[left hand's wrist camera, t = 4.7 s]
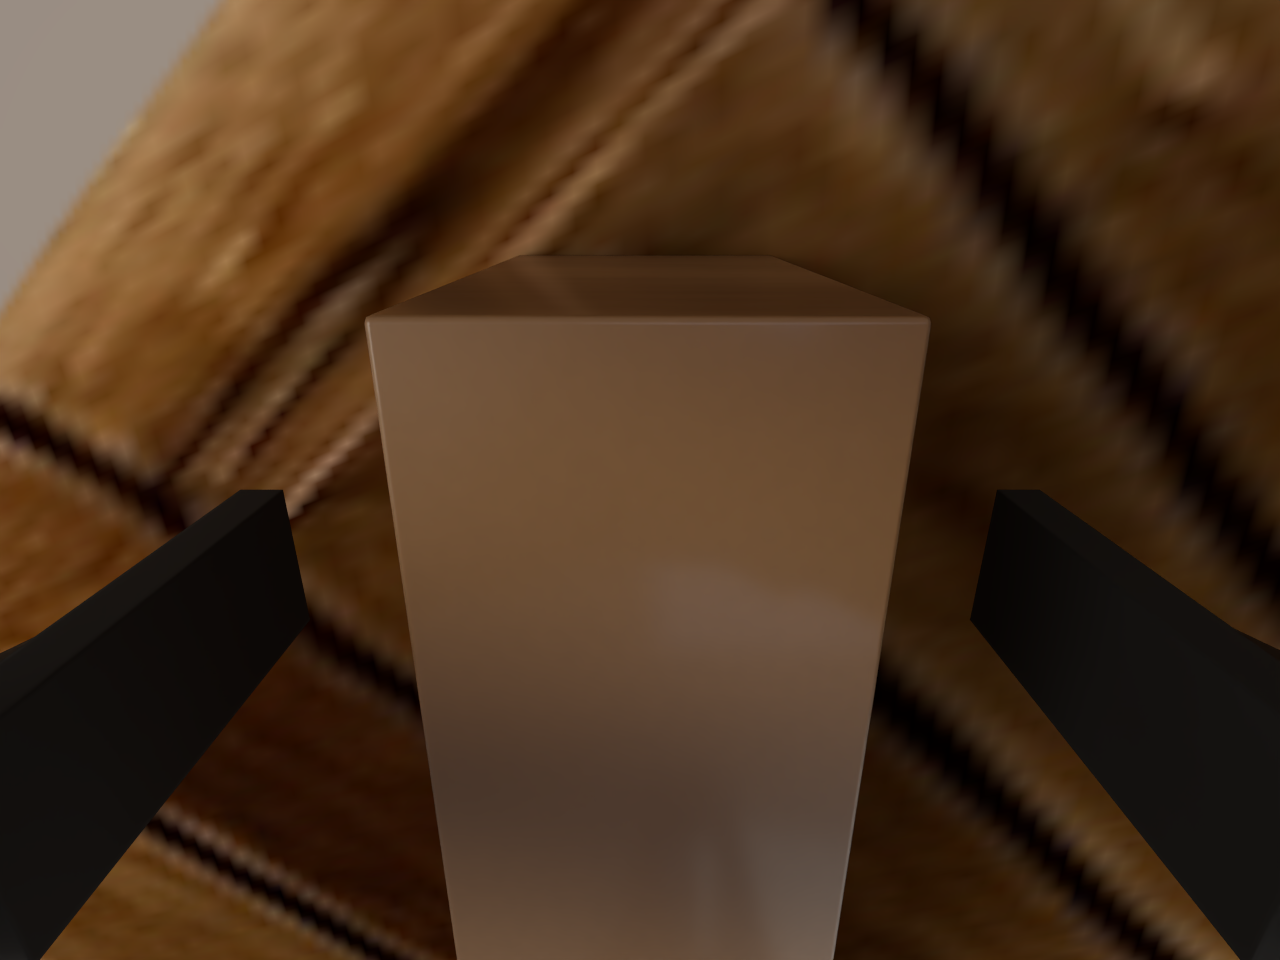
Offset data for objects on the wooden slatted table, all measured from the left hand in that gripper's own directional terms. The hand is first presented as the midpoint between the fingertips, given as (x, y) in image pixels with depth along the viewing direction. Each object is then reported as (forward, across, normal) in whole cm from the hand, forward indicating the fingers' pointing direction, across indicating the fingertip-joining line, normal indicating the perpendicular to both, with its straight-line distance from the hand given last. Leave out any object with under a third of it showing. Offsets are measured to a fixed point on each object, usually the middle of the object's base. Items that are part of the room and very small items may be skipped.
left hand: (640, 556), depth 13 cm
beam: (+3, 0, -24) cm, 25 cm away
